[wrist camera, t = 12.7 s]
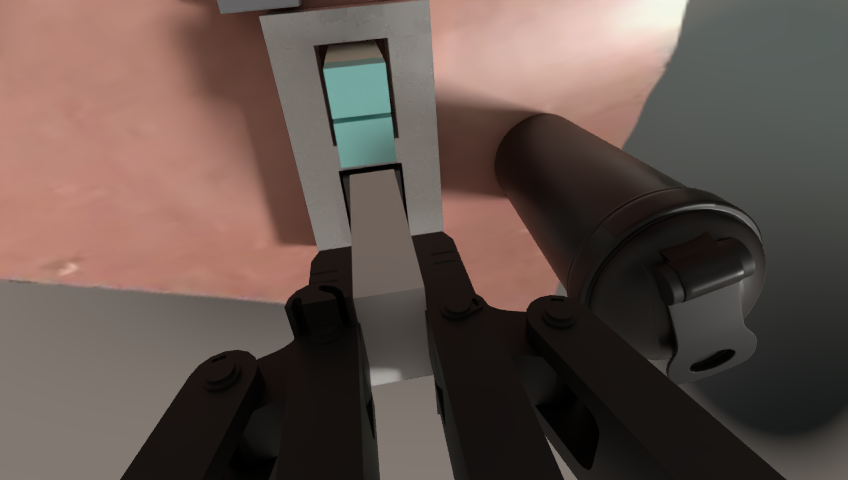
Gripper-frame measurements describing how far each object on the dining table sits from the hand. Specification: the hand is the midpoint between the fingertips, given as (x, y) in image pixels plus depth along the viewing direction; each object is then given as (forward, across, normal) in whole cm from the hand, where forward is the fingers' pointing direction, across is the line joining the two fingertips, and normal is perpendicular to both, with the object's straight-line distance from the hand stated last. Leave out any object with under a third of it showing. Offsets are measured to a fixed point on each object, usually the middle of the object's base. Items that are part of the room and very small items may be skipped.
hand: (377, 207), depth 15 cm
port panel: (+22, 0, -5) cm, 23 cm away
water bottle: (+22, +15, -9) cm, 29 cm away
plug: (+22, 0, 0) cm, 22 cm away
